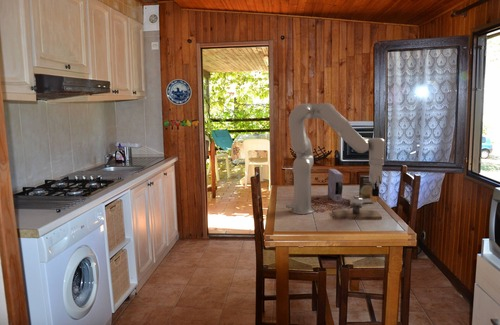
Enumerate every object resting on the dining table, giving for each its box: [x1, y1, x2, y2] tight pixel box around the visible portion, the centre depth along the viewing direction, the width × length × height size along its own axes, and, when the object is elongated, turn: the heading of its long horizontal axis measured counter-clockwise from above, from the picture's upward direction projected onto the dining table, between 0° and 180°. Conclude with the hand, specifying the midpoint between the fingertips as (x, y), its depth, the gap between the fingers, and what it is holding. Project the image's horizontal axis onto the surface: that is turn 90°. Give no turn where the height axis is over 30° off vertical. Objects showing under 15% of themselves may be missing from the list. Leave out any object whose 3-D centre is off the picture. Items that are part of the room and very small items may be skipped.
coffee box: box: [358, 174, 372, 204], centre depth 246 cm, size 9×6×16 cm
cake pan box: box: [327, 168, 344, 203], centre depth 255 cm, size 19×5×18 cm, turn 3°
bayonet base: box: [331, 205, 383, 220], centre depth 217 cm, size 24×12×6 cm, turn 86°
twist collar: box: [349, 189, 378, 207], centre depth 217 cm, size 15×6×8 cm, turn 103°
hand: (375, 195), depth 215 cm, fingers closed
